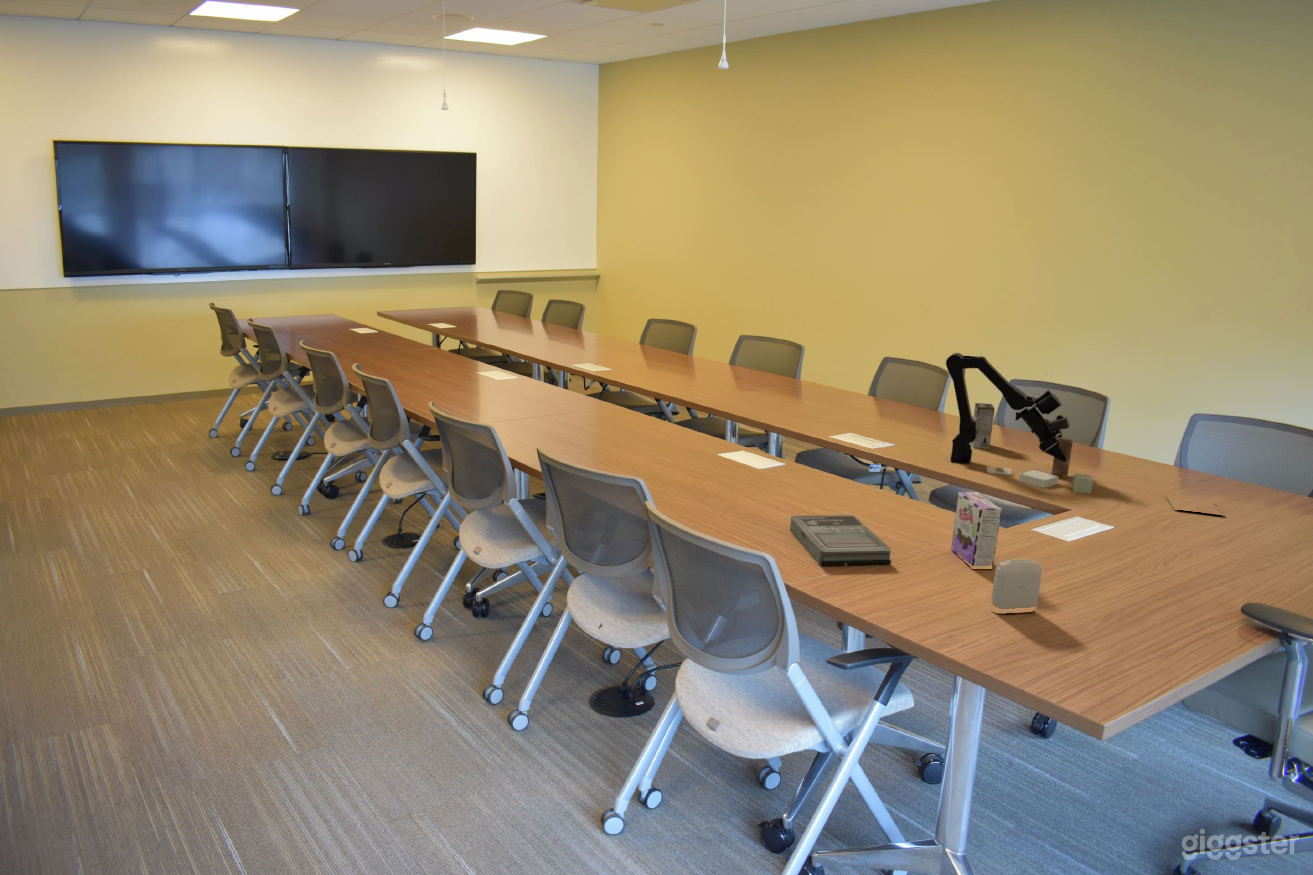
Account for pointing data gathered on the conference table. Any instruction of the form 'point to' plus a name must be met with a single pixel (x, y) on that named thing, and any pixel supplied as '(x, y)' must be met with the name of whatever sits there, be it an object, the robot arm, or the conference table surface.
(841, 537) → the hard drive
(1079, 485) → the sage cube
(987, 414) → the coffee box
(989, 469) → the card
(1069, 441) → the walnut pillar
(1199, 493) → the conference table surface
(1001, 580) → the photo printer
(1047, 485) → the grey base block
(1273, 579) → the conference table surface
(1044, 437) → the robot arm
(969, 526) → the candy box
